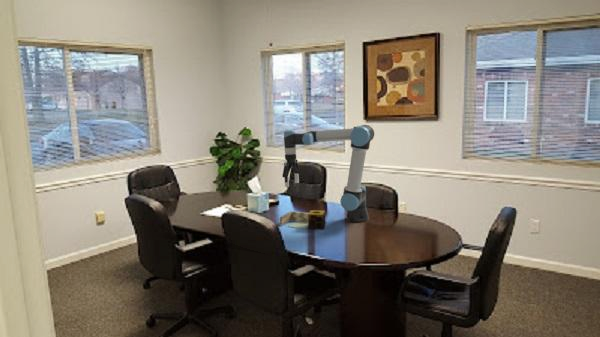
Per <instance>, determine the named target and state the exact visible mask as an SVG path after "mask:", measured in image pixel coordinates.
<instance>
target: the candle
mask: <svg viewBox="0 0 600 337" xmlns="http://www.w3.org/2000/svg"><path fill="white" fill-rule="evenodd" d="M325 212H326V210H319V209H318V210H316V209H315V210H311V209H310V211H309V212H308V213H309V214H308V222H307V223H308V227H307V228H308V230H323V231H324V229H325V228H326V225H327V224H326V223H327V222H326V213H325Z"/></svg>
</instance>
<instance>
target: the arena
mask: <svg viewBox="0 0 600 337" xmlns="http://www.w3.org/2000/svg"><path fill="white" fill-rule="evenodd" d="M308 214H309V212H302V211H292V210H290V211H289V212H287V213H284V214H283V215H281V216H280V217H279V226H280V227H283V226H285V225H287V224H288V223H290V222H291V221H293V222H296V221H298V222H307V223H308Z"/></svg>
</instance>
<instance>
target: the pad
mask: <svg viewBox="0 0 600 337" xmlns="http://www.w3.org/2000/svg"><path fill="white" fill-rule="evenodd" d="M287 227H288V228H295V229H303V230H305V229H307V228H308V222H301V221H294V222H293V223H291V224H289V225H288V226H287Z"/></svg>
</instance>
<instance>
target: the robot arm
mask: <svg viewBox="0 0 600 337" xmlns="http://www.w3.org/2000/svg"><path fill="white" fill-rule="evenodd" d="M374 137H375V130H374V128H373V127H372V126H370V125H367V124H362V125H359V126H358V125H357V126H353V128H343V129H342V128H341V129H339V128H338V129H329V130H328V129H324V130H310V131H307V132H303V133H296V131H295V130H285V131H283V144H284V160H286V162H285V161H284V163H283V171H282V178H284V187H285V188H289V187H290V179H289V178H290V177H289V175H290V172H291V170H293V171H294V183H295V184H299V183H300V177H299V175H300V174H301V169H300V166H299V163H298V159H297V146H298V145H299V146H310V145H313V143H323V142H340V141H350V148H351V155H350V156H351V157H350V163H349V168H348V170H349V171H348V176H347V183H346V185H345V186H343V187H344V188H343V194H342V196H341V197H340V206H342V208H343V209H344V210H346V211H347V212H346V214H345V215H346V216H345V219H346V221H349V222H353V223H362V222H367V221H369V220H370V218H369V217H370V216H369V213H368V209H367V188H366V186H365V185H361V184H362V179H363V172H364V166H365V161H366V154H367V151H368V150H370V145H371V142H372V141H373V139H374Z"/></svg>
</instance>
